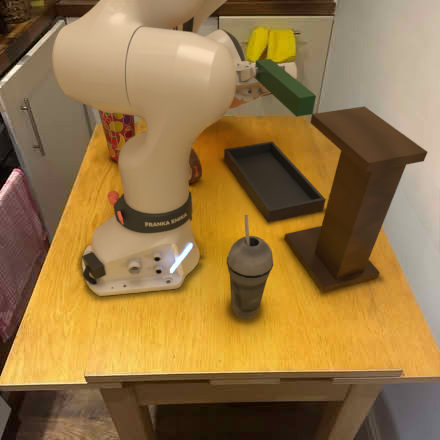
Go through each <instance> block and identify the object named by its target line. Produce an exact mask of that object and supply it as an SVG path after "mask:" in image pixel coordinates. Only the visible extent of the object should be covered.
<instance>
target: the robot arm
mask: <svg viewBox="0 0 440 440" xmlns="http://www.w3.org/2000/svg"><path fill="white" fill-rule="evenodd" d="M226 2H228V0H98V1H97V3H96V4H95V5H93V7H92V8H91V9H90V10H89V11H87V12H86V13H85V14H83V16H81V17H79V18H78V19H76V20H73V22H70V23H69V24H66V25H64V26H63V27H62V28H61V29H59V32H58V33H57V35H56V37H55V40H54V42H53V45H52V52H51V63H52V70H53V74H54V77H55V79H56V81H57V82H56V83H57V84H58V85H59V88H60V89H61V91H62V92H63V93H64V94H65V96H67V97H68V98H69V99H71V100H74V101H75V102H78V103H80V104H83V105H85V106H87V107H90V108H93V109H95V110H97V111H98V110H102V111H108V112H115V113H121V114H127V115H133V116H134V117H138V118H142V119H143V121H144V122H145V129H146V131H145V130H144V131H142V132H140V133H137V134H135V136H134V137H132V138H130V139H129V140H128V141H127V142H126V143H125V144H124V145H123V147H122V148H121V150H120V153H119V158H118V162H117V165H118V170H119V177H120V182H121V187H122V194H121V196H120V194H119V192H118V191H116V190H110V191H108V193H107V199H108V202H109V204H110V205H111V206H113V211H114V212H113V213H114V214H112V215H111V216H109V218H107V219H106V220H105V221H104V222H102V223H101V224H100V225H99V226H97V227H96V228H95V230H94V231H93V233H92V237H91V244H89V245H87V246H86V248H85V249H84V252H83V255H81V258H82V259H81V260H82V261H81V265H82V272H83V275H82V276H83V278H84V280H85V282H86V285H87V286H88V288H89V289H90V290H91V291H92V292H93V293H94V294H95V295H97V296H99V297H106V296H115V295H117V296H118V295H127V294H137V293H138V294H139V293H146V292H156V291H166V290H167V291H168V290H176V289H179V288H181V286H183V283H184V281H185V279H186V277H187V276H188V275H189V274H190V273H191V272H192V271H193V270H194V269H196V266H197V265H198V263H199V261H200V255H201V253H200V249H199V247H198V244H197V242H196V238H195V235H194V229H193V224H192V221H193V214H194V206H193V197H192V192H191V191H190V187H189V184H190V183H189V157H190V152H191V149H192V148H193V146H194V145H195V143H196V140H197V139H198V138H199V136H200V135H201V134H202V133H203V132H204V131H205V130H206V129H207V128H209V127H210V126H212V125H214V124H215V123H217V122H218V121H220V120H221V119H222V118H223V117H224V116H225V115H226V114H227V112H228V110H230V109H231V110H232V109H235V108H238V107H240V106H242V105H245V104H247V103H250V102H252V101H255V100H257V99H260V98H262V97H266V96H269V95H272V94H271V93H270V92H269V91H268V90H267V89H266V88H265V87H264V86H263V85H262V84H261V83H260V82H259V81H257V80H256V79H255V77H258V76H259V75H260V72H259V67H255V65H256V62H252V61H247V60H246V58H245V54H244V52H243V49H242V46H241V44H240V42H239V40H238V39H237V38H236V36H235V35H233V34H232V33H231V32H229V31H227V30H225V29H222V28H218V29H216V30H215V31H213V32H210V33H209V34H207V35H205V36H203V35H200V34H198V33H199V30H200V28H201V27H202V25H203V24H204V23H205V21H206V20H207V19H208V18H209V17H210V16H211V15H212V14H214V12H216V10H218V9H219V8H220V7H221V6H223V5H224V4H225V3H226ZM276 64H277V65H279V66H280V67H281V68H282V69H284V70H285V71H286V72H287V73H289V74H290V75H291V76H292V77H294V78H295V79H296V80H297V79H298V67H297V64H296V62H294V61H291V62H284V63H283V62H282V63H276Z"/></svg>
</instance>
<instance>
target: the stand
mask: <svg viewBox="0 0 440 440" xmlns="http://www.w3.org/2000/svg"><path fill="white" fill-rule="evenodd" d="M310 124H311V125H312V126H313V127H314V128H315V129H317V130H318V131H319V132H320V133H321V134H322V135H323V136H324V137H325V138H326V139H328V140H329V141H330V142H331V143H332V144H333V145H334V146H335V147H337V148H338V149H339V150H340V152H339V153H340V154H339V157H338V161H337V165H336V168H335V172H334V177H333V181H332V185H331V188H330V192H329V195H328V199H327V203H326V208H325V211H324V215H323V219H322V222H321V225H319V226H315V227H311V228H310V227H309V228H306V229H301V230H295V231H292V232H287V233H285V234H284V242H285V243H286V244H287V245H288V247H289V248H290V249H291V251H292V253H293V254H294V255H295V256H296V258H297V259H298V261H299V262H300V264H301V265H302V267H303V268H304V269H305V271H306V272H307V273H308V274H309V276H310V278H311V280H313V282H314V283H315V284H316V286H317V288H318V289H319V290H320V292H321V293H328V292H332V291H335V290H339V289H341V288H342V289H343V288H346V287H350V286H354V285H358V284H361V283H364V282H368V281H372V280H375V279H378V278H379V276H380V274H381V272H380V271H379V270H378V269H377V267H376V266H375V265H374V264H373V262H372V261H370V258H371V255H372V252H373V250H374V248H375V245H376V242H377V240H378V237H379V235H380V232H381V230H382V227H383V224H384V222H385V220H386V217H387V214H388V212H389V209H390V207H391V204H392V202H393V199H394V197H395V194H396V192H397V189H398V187H399V184H400V183H401V182H400V181H401V179H402V177H403V174H404V171H405V169H406V167H407V165H411V164H417V163H422V162H424V161H425V159H426V157H427V155H428V153H429V151H427V150H426V149H424V148H423V147H421V146H420V145H419V144H418V143H416V142H415V141H413V140H412V139H410V138H409V137H408V136H407V135H405V134H404V133H402V132H401V131H399V130H398V129H397V128H395V127H394V126H393V125H391V124H390V123H389V122H387V121H385V120H384V119H383V118H381V117H380V116H379V115H377V114H376V113H374V111H371V110H370V109H369V108H368V107H366V106H358V107H352V108H344V109H337V110H329V111H325V112H324V111H323V112H315V113H313V114H311V118H310Z"/></svg>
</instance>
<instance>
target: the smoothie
mask: <svg viewBox="0 0 440 440" xmlns="http://www.w3.org/2000/svg"><path fill="white" fill-rule="evenodd" d="M97 111H98V114H99V118H100V121H101V125H102V129H103V133H104V137H105V141H106V146H107V149H108V152H109V153H108V154H109V156H110V157H111V158H112V160H113V161H114V162H117V163H118V158H119V153H120V150H121V148H122V147H123V145H124V144H125V143H126V142H127V141H128V140H129V139H130V138H132V137H134V136H136V124H135V116H133V115H127V114H121V113H115V112H108V111H102V110H98V109H97Z"/></svg>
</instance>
